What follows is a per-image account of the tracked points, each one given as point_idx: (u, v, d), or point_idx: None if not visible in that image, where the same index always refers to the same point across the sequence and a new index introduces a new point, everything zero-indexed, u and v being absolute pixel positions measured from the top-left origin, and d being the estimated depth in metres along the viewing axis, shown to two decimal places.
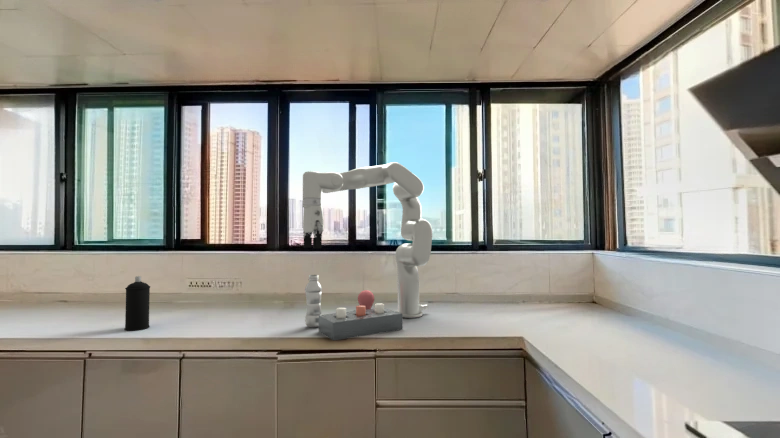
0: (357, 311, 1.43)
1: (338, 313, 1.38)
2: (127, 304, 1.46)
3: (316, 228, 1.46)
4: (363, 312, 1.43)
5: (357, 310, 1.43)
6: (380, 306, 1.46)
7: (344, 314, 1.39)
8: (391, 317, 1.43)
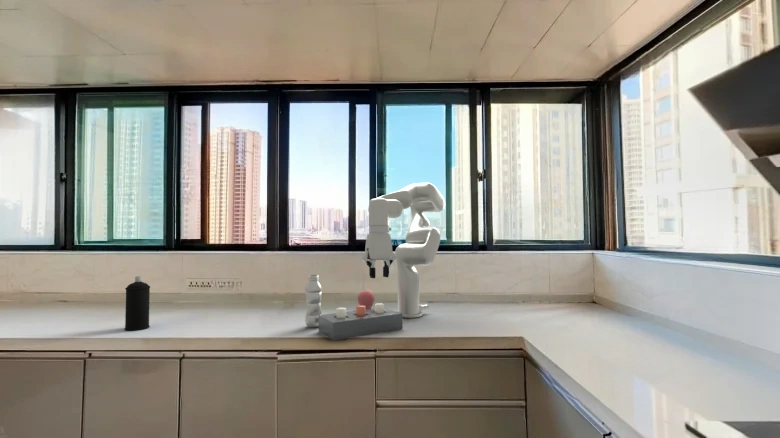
0: (357, 311, 1.43)
1: (338, 313, 1.38)
2: (127, 304, 1.46)
3: None
4: (363, 312, 1.43)
5: (357, 310, 1.43)
6: (380, 306, 1.46)
7: (344, 314, 1.39)
8: (391, 317, 1.43)
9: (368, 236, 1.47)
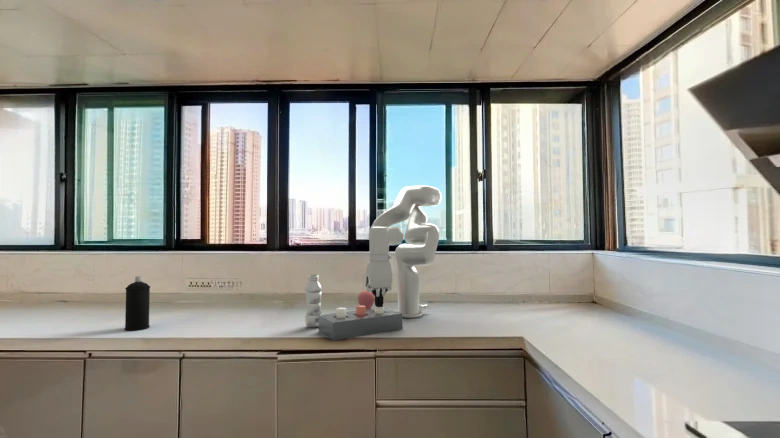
0: (357, 311, 1.43)
1: (338, 313, 1.38)
2: (127, 304, 1.46)
3: None
4: (363, 312, 1.43)
5: (357, 310, 1.43)
6: (380, 308, 1.46)
7: (344, 314, 1.39)
8: (391, 317, 1.43)
9: (368, 264, 1.46)
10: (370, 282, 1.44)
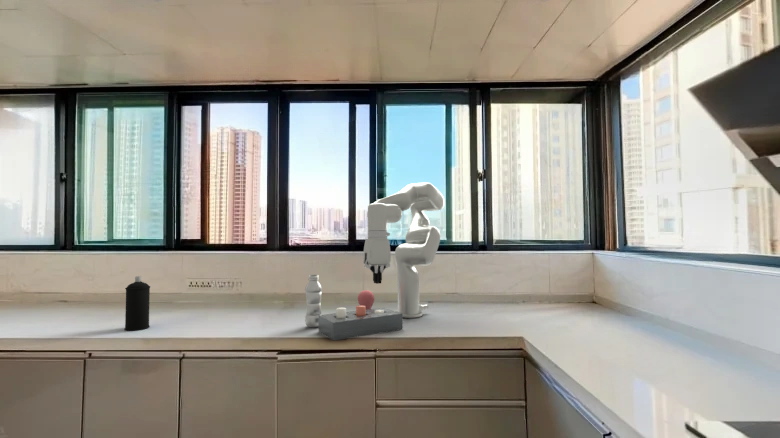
0: (357, 311, 1.43)
1: (338, 313, 1.38)
2: (127, 304, 1.46)
3: None
4: (363, 312, 1.43)
5: (357, 310, 1.43)
6: None
7: (344, 314, 1.39)
8: (391, 317, 1.43)
9: (366, 241, 1.46)
10: (368, 258, 1.44)
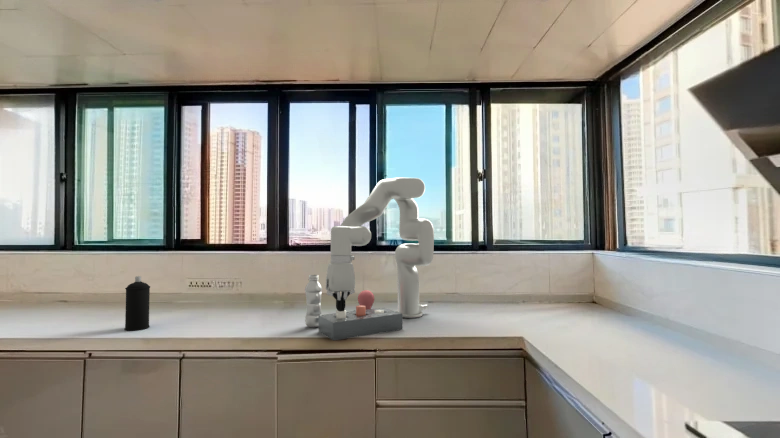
0: (357, 311, 1.43)
1: (338, 315, 1.38)
2: (127, 304, 1.46)
3: None
4: (363, 312, 1.43)
5: (357, 310, 1.43)
6: None
7: (344, 316, 1.39)
8: (391, 317, 1.43)
9: (329, 266, 1.38)
10: (330, 285, 1.36)
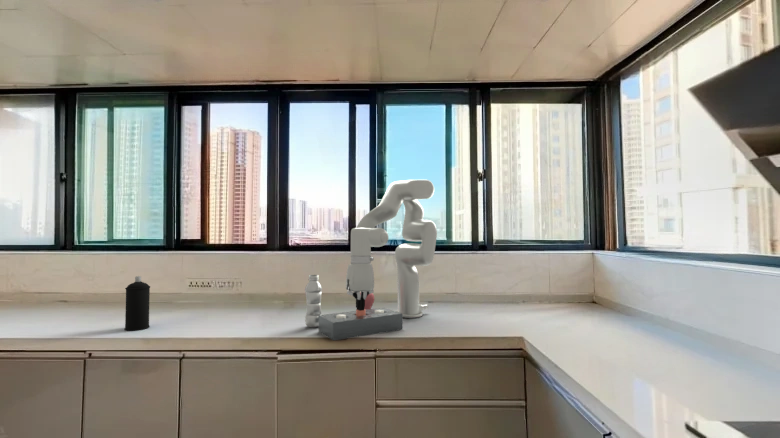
0: (357, 314, 1.43)
1: None
2: (127, 304, 1.46)
3: None
4: None
5: (357, 313, 1.43)
6: None
7: None
8: (391, 317, 1.43)
9: (349, 267, 1.42)
10: (351, 285, 1.40)
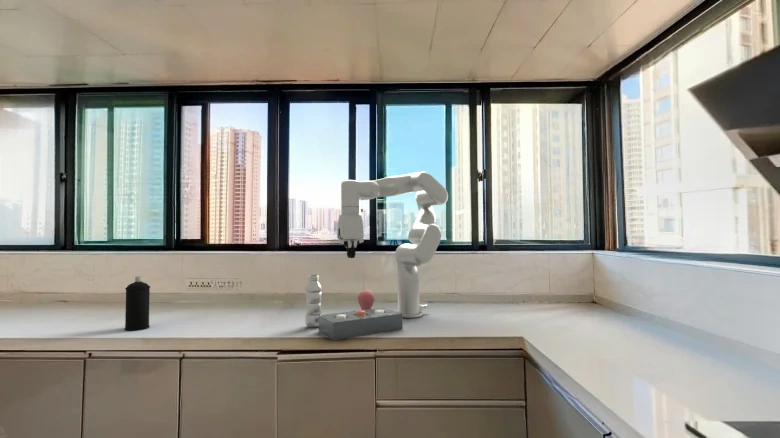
0: None
1: None
2: (127, 304, 1.46)
3: None
4: None
5: (357, 315, 1.43)
6: None
7: None
8: (391, 317, 1.43)
9: (340, 217, 1.51)
10: (341, 233, 1.49)
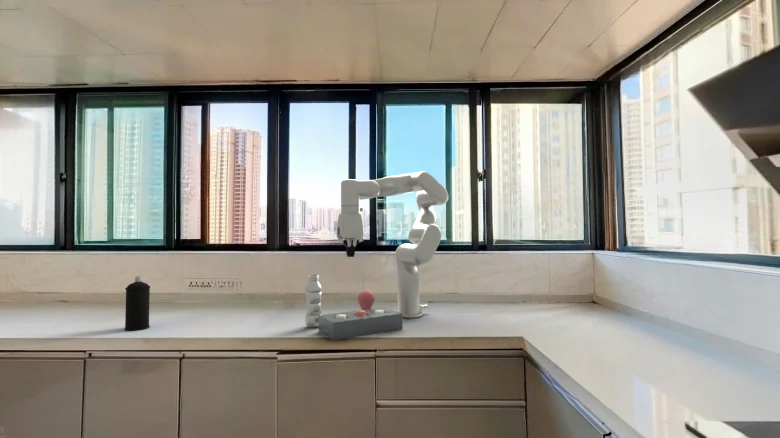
0: None
1: None
2: (127, 304, 1.46)
3: None
4: None
5: (357, 315, 1.43)
6: None
7: None
8: (391, 317, 1.43)
9: (339, 216, 1.51)
10: (341, 232, 1.49)
